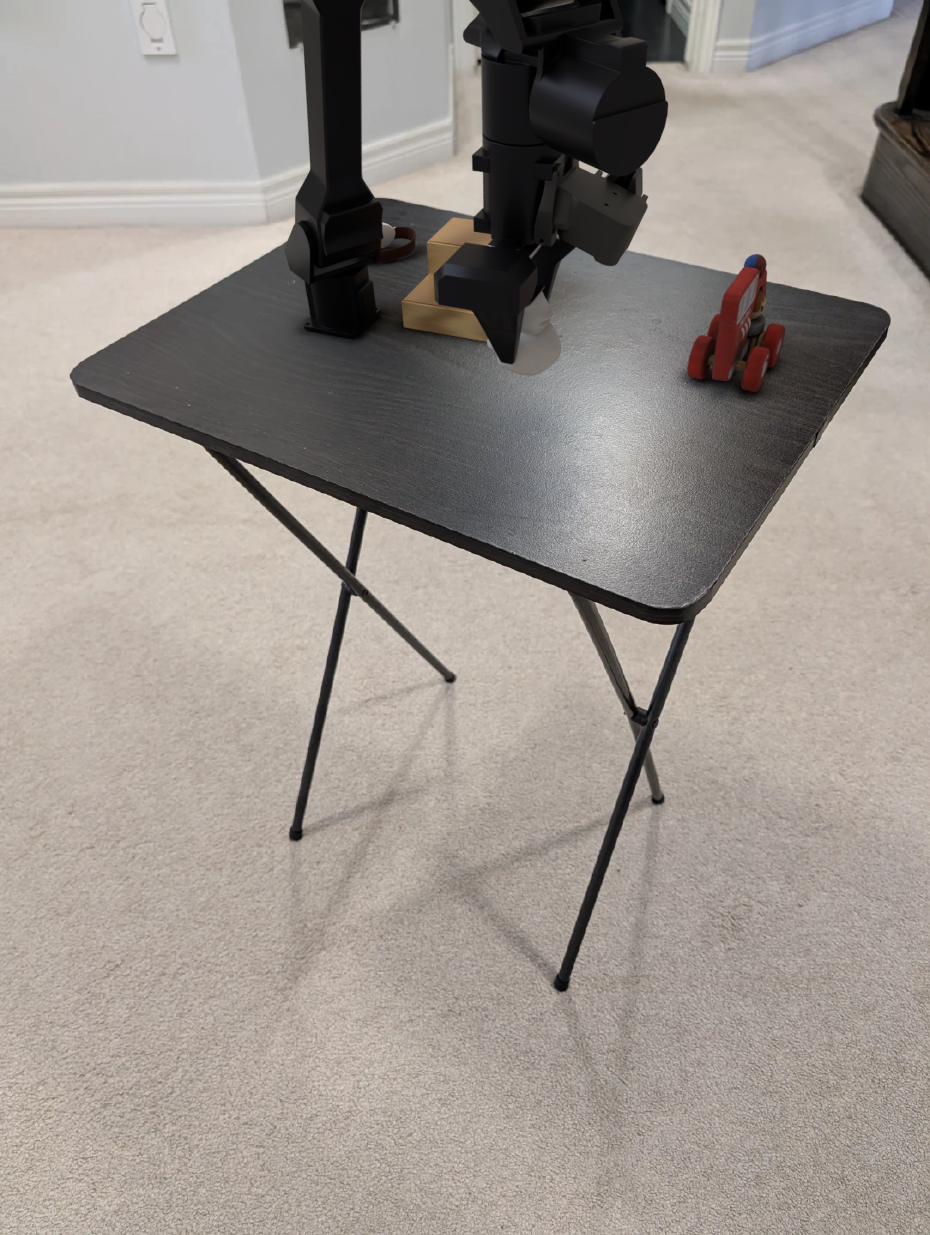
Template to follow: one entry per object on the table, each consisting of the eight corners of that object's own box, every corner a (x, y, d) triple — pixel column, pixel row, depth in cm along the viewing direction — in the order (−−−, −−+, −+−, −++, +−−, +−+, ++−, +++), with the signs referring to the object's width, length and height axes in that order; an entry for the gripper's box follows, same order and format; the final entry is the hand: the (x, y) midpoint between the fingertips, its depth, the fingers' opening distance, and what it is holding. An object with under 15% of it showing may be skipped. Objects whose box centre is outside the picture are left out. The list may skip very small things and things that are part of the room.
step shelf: (403, 327, 97) (397, 267, 92) (455, 273, 106) (452, 216, 101) (488, 342, 94) (487, 281, 89) (534, 285, 103) (535, 227, 98)
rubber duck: (542, 394, 69) (545, 296, 63) (469, 373, 72) (466, 277, 66) (572, 362, 72) (578, 266, 67) (502, 343, 75) (501, 249, 69)
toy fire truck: (785, 348, 91) (810, 246, 83) (749, 408, 83) (772, 302, 76) (719, 334, 93) (737, 234, 86) (678, 391, 86) (693, 287, 78)
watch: (408, 241, 112) (406, 212, 110) (423, 255, 109) (421, 225, 107) (351, 255, 110) (347, 225, 108) (365, 269, 107) (361, 239, 105)
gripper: (598, 199, 51) (581, 428, 62) (678, 100, 63) (651, 308, 74) (423, 175, 54) (437, 397, 66) (530, 86, 66) (526, 287, 77)
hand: (521, 345), depth 71 cm, fingers closed on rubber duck, 5 cm apart
